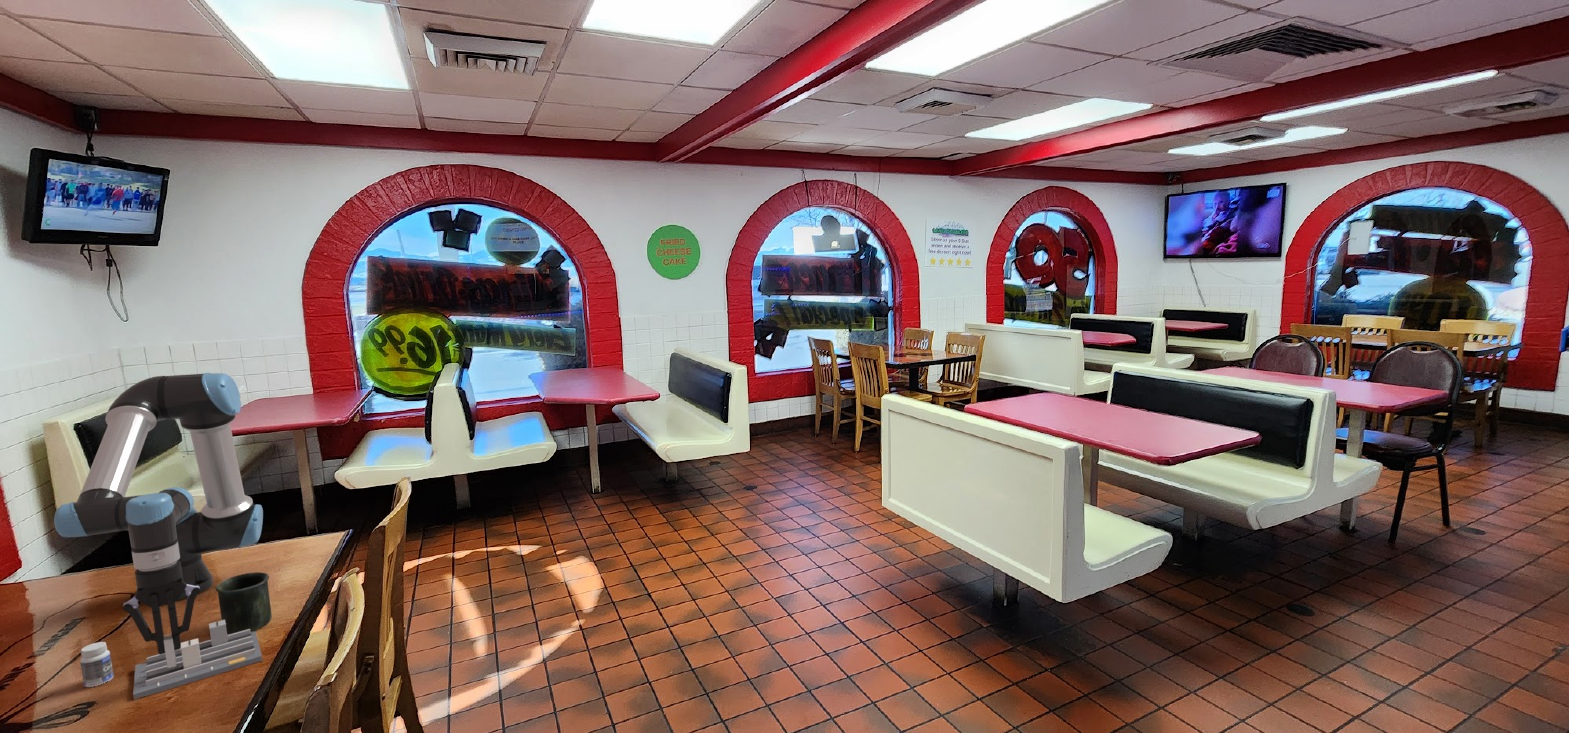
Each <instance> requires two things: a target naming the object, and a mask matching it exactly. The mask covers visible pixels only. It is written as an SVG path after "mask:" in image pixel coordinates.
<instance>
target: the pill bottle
mask: <svg viewBox="0 0 1569 733" xmlns="http://www.w3.org/2000/svg"><path fill="white" fill-rule="evenodd" d="M80 654H81V658H80V660H79V662H80V667H81V675H82V680H83V685H84V687H86V688H94V686H95V687H98V685H99V686H101V684H102V685H104V684H106V683H105V682H107V681H108V682H110V681H111V680H112V679H113V678H114V669H113V664H112V663H113V662H112V657H111V651H110V650H109V649H108V646H107V642H105V641H98V642H94V643H91V644H87V645H85V646H84V647H82V648H81V650H80ZM108 682H107V683H108ZM103 683H104V684H103Z"/></svg>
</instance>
